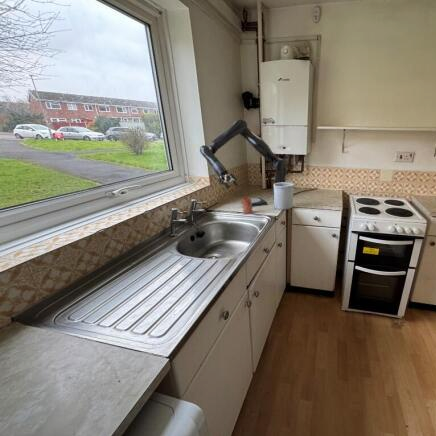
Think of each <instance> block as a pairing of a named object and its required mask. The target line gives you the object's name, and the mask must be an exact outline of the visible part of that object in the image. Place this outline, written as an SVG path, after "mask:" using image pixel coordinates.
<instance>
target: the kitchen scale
mask: <svg viewBox="0 0 436 436" xmlns="http://www.w3.org/2000/svg"><path fill="white" fill-rule="evenodd" d="M251 202H252V208H254V207H260V206H267V205H268V201H266V200H265V199H263V198H261V197H258V198H251Z"/></svg>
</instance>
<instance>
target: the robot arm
mask: <svg viewBox="0 0 436 436" xmlns="http://www.w3.org/2000/svg"><path fill="white" fill-rule="evenodd" d="M238 135H240V136H242V137H243V138H244V139H245V140H246V141H247V142H248V143H249V144H250V146H252V148H254V150H255V151H256V152H257V153H258V154H259V155H261V156H262V158H264V159H266V160H267V161H268V162H269V163H270V164H271V166H272V167H273V168H274V169H275V174H274V184H275V183H280V182H287V181H286V180H287V179H286V178H287V177H286V176H287V162H286V160H285V159H283V158H280V157H278V156H277V155H276V154H275V153H274V152H273V151H272V149H271V147H270V145H269V144H268V143H267V142H266V141H265V140H264V139H262V138H261V137H260V136H258V135H257V134H255V133H254V132H253V131H252V130H251V129H250V128H249V127H248V123H247V121H246V120H245V119H242V118H238V119H235V120H234V121H233V124H232V125H231V126H230V127H229V129H227V130H225V132H222V133H221V134H219V135H218V136H216V137H215V138H214V139H213V140H211V141H210V145H209V146H208V145H206V144H205V145H204V144H203V145H201V146H200V148H199V152H200V154H201V155H202V157H203V158H204V159H205V160H206V161H207V163H208V165H209V166H210V167H211V168H212V170H213V171H214V173H215V174H216V175H217V177H216V180H217V181H218V183H219V184H220V185H223V186H224V187H225V188H226V189H228V190H229V189H230V188H231V185H229V184H228V182H231V183H233V185H234V186H235V187H238V186H239V184H238V182H237V179H238V178H237V177H236V175H234V174H233V173H231V174H230V173H229V171H228V169H227V168H226V166H225V165H223V163H222V162H221V161H220V160H219V158H218V157H217V156H216V155H215V154H216V153H217V152H218V151H219V150H220V149H221V148H223V147H224V146H225V145H226V144H227V143H228V142H230V141H231V140H232V139H234V138H236V137H237V136H238ZM313 190H314V191H315V190H317V188H316V187H315V188H311V189H310V188H309V189H306V190H301V191H297V192H295V193H293V196H294V195H297V194H300V193H302V192H309V191H313Z"/></svg>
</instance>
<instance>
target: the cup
mask: <svg viewBox="0 0 436 436" xmlns="http://www.w3.org/2000/svg"><path fill="white" fill-rule="evenodd" d="M251 199H252V197H249V196H247V197H242V198H241V204H242V212H243V214H252V213H253V207H252V202H251Z"/></svg>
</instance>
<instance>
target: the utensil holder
mask: <svg viewBox="0 0 436 436" xmlns="http://www.w3.org/2000/svg"><path fill="white" fill-rule="evenodd" d="M272 186H273V201H274V202H273V203H274V209H277V210H283V211H284V210H285V211H286V210H290V209H293V206H294V195H293V194H294V183H292V182H287V181H286V182H280V183H275V182H274V183H273V185H272Z"/></svg>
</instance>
